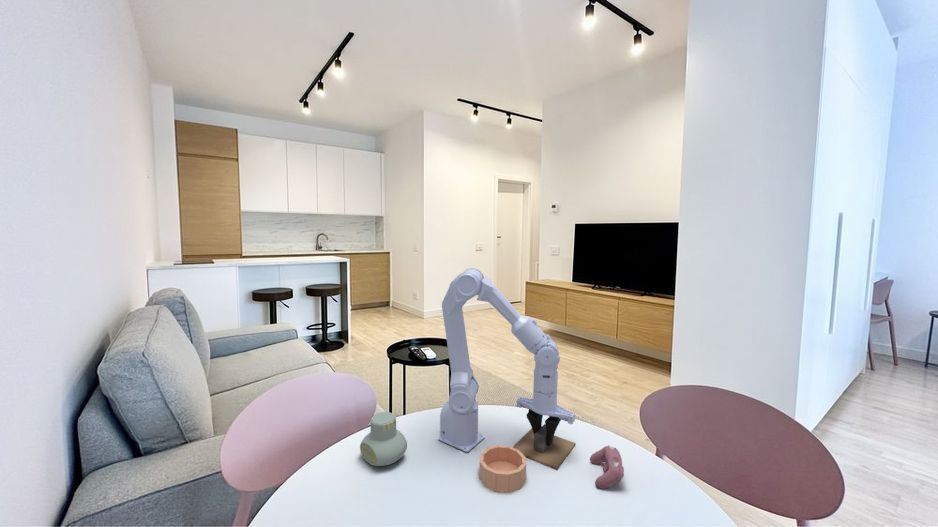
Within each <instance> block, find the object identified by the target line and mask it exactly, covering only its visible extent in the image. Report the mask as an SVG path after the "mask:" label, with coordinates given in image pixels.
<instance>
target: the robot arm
mask: <svg viewBox="0 0 938 527" xmlns="http://www.w3.org/2000/svg"><path fill="white" fill-rule="evenodd" d="M476 296H477V298H476V301H481V302H486V303H489V304H490V305H491V306H492V307H493V308H494V309H495V310H496V311H497V312H498V313H499V314H500V315H502V317H503V318H504V319H505V320H506V321H507V322H508V323H509V324H510V325H511V333H512V334H513V336H514V337H515V338H516V339H517V340H518V341H519V342H520V343H521V344H522V345H523V347H525V349H526V350H527V351H528V352H530V353H532V355H534V356H533V360H534V364H535V365H534V369H533V388H532V389H533V390H532V391H533V393H532V398H527V397H522V396H520V397H518V398H517V399H516V407H517V408H525V409H527V410H528V411H527V413H526V419H527V420H528V422H529V425H530V427H531V428H532V430H533V433H534V434H535V433H536V432H537V431H538V430H539V429H540V428H541V427H542V426H543V425H542V424H543V417H544V416H548V417H547V418H546V419H545V420H544V424H546V432H547V436H546V445H547V446H550V445H551V444H552V441H553V437H554V436H555V433H556V431H557V428H558V426H559V425H560V423H561V421H565V422H567V424H569V425H573V424H574V422H575V419H576V414H575V412H571V411H569V410H567V409H565V408H563V407H561V405H558V404H557V402H558V380H559V374H558V367H559V366H558V364H559V363H560V360H561V357H560V353H559V350H558V345H557V344H556V342H555V340H554V339H553V338H551V336H550V334H546V333H544V331H543V330H542V329H541V328H540V327H539V326H538V325H537V324H538V321H537V320H536V319H535V318H531V317H530V316H528V315H521V314H520V313H519V312H518V310H517V309H516V308H515V307H514V306H513V305H512V303H511V302H510V301H509V300H508V299H507V297H506V296H505V295H504V294H503V293H502V292H501V291H500V289H499V288H498V287H497V286H496V285H495V284H494V283H493V282H492V281H491V279H489V278H488V277H487V276H484V274H483V273H482V271H481V270H480V269H477V268H476V267H475V268H474V267H469V268H467V269H465V270H464V271H463V272H461V273H459V274H458V275H457V276H456V277H454V279H453V280H451V281H450V283H449V286H448V288H447V291H446V293H445V296H444V297H443V300H442V301H441V308H442V309H441V310H442V316H443V318H442V319H443V322H444V323H443V324H444V330H445V337H446V338H445V339H446V344H447V345H446V346H447V351H448V358H449V365H450V366H449V367H450V372H451V375H450V382H449V383H450V384H449V386H450V393H449V396H448V401H447V402H445V403H444V404H443V405H442V407H441V410H440V415H439V419H440V420H439V436H438V437H437V440H438V441H440V442H443V443H445V444H447V445H449V446H452V447H453V448H456V449H458V450H460V451H463V452H465V453H469V452H470V451H471V450H472V449H474V447H476V446H477V445H478V444H479V443H481V442H482V441H483V440H484V439H485V437H486V436H485V435H483V434H480V433H479V402H478V401H477V399H476V397H477V394H478V391H479V389H480V388H479V383H478V380H477V379H476V377H475V375H474V370H473V369H472V367H471V363H470V362H471V361H470V360H471V359H470V354H469V353H470V352H469V346H468V341H467V333H466V327H465V326H466V325H465V318H464V311H463V307H464V305H466V303H467V302H468V301H469V300H471V299H473V298H475V297H476Z"/></svg>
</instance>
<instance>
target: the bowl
mask: <svg viewBox="0 0 938 527" xmlns="http://www.w3.org/2000/svg"><path fill="white" fill-rule="evenodd" d="M512 447H513V446H510V445H502V444H501V445H500V444H499V445H496V444H495V445H493V446H490V447H486V448H485V449H484V450H483V451H481V452H480V455H479V472H478V473H479V478H478V479H479V480H480V482H481V483H482V485H483V486H484V487H485V488H487V489H489V490H491V491H494V492H495V493H507V494H509V493H512V492H515V491H516V492H517V491H518V490H521V489H522V487H523V486H524V485H525V483H526V482H527V460H526V459H527V458H526V457H525V456H524V455H523V454H522V453H521V452H520V451H519V450H517V449H515V448H512Z"/></svg>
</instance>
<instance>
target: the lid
mask: <svg viewBox="0 0 938 527" xmlns="http://www.w3.org/2000/svg"><path fill="white" fill-rule="evenodd" d="M546 436H547V432H546V424H545V423H544V424H543V425H542V427H541V428H540V429H539V430H538V431H537V432H536V433H535V434H534V433H533V430H532V427H531V428H530V429H529V430H528V431H526V433H525V434H524V435H523V436H522V437H521V438H520V439H519V440H518V441H517V442H516V443H515V444H514V445H513V446H511V447H512V448H515V449H517V450H519V451H520V452H521V453H522V454H523V455H524V456H525V457H526V459H527V460H530V461H533V462H535V463H538V464H540V465H543V466H545V467H548V468H550V469H553V470H554V471H558V470H559V469H560V468H561V466H562V465H563V463H564V462H565V461H566V459H567V458H568V456H569V455H570V454H571V453H572V451H573V449H574V448H575V446H576V442H574V441H572V440H569V439H567V438H566V439H565V438H563V437H560V436H556V435H554V437H553V441H552V444H551V445H550V446H547V445H546ZM566 457H567V458H566Z"/></svg>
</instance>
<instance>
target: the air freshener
mask: <svg viewBox="0 0 938 527" xmlns="http://www.w3.org/2000/svg"><path fill="white" fill-rule="evenodd" d="M407 449H408V442H407V439H406V437H405V435H404V434H403V433H402V432H401V431H400V430H398V429H397V416H396V415H395V414H394V413H392V412H389V411H383V412H378V413H375V414H374V415H373V416H372V417H371V418H370V431H369V433H367V434H366V435H365V436H364V437H363V439H362V440H361V442H360V444H359V450H360V453H361V456H362V457H363V459H365V461H366V462H367V463H368V464H369V465H372V466H374V467H375V466H376V467H384V466H388V465H391V464H394V463H396V462H397V461H399V460H400V459H401V458H403V455H404V454H406V451H407Z"/></svg>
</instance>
